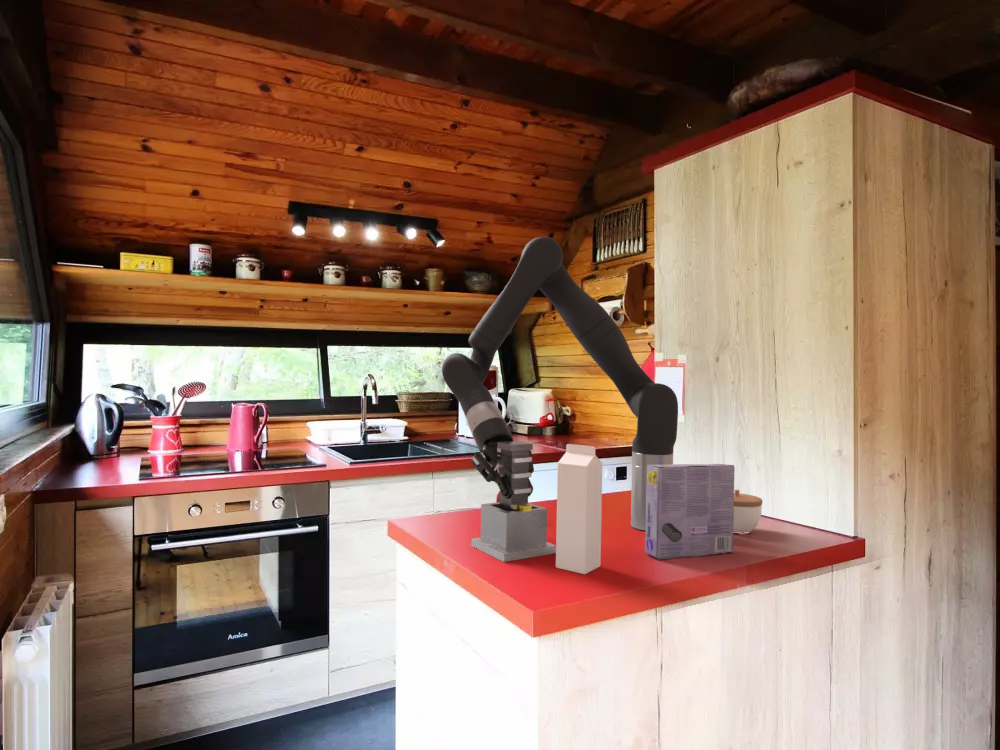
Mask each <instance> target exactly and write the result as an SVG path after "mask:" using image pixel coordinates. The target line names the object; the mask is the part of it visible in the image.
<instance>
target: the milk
mask: <svg viewBox="0 0 1000 750" xmlns="http://www.w3.org/2000/svg"><path fill="white" fill-rule="evenodd" d="M556 480H557V483H556V484H557V485H556V486H557V489H556V490H557V491H556V492H557V494H556V537H555V540H556V541H555V542H556V543H555V545H556V553H555V568H557V569H560V570H565V571H569V572H573V573H578V574H580V575H586V574H588V573H590V572H592V571H595V570H596V569H599V567H601V553H602V552H601V551H602V550H601V546H602V504H603V503H602V500H603V492H602V491H603V462H602V461H601V459H600V458H599V457H598V456H597V455H596V447H595V446H592V445H583V444H573V443H567V444H566V446H565V453H564V454H563V455H562V456H561V458H560V459H559V460H558V462H557V479H556Z"/></svg>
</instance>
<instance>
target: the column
mask: <svg viewBox="0 0 1000 750" xmlns="http://www.w3.org/2000/svg"><path fill="white" fill-rule="evenodd" d="M533 446H534V444H533V443H530V442H525V441H519V440H516V441H514V440H513V441H512V442H498V448H499V449H501V462H502V464H503V470H504V473H505V476H504V477H506V478H507V480H508V482H509V484H510V486H511V488H512V491H513V495H512V496H511V497H510V499H506V498H505V496H503V495H502V494H501V491H500V490H499V491H500V509H502V510H505V511H508V512H511V511H519V510H520V505H526V504H529V505H531V504H532V503H531V502H529V497H528V493H530V492H531V488H529V487H528V478H529V479H530V478H532V475H533V473H530V472H529V462H532V460H533V456H532V457H529V450H531V451H533V448H534V447H533Z"/></svg>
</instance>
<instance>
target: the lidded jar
mask: <svg viewBox="0 0 1000 750" xmlns="http://www.w3.org/2000/svg"><path fill="white" fill-rule="evenodd" d="M762 506H763V499H762V498H761V497H759V496H756V495H752V494H746V493H740V489H734V521H733V529H734V531H733V532H741V533H744V532H750V531H751V532H752V531H753V530H754V529H756V528H757V526H758V525H759V523H760V521H761V517H762V509H763V507H762Z"/></svg>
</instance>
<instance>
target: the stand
mask: <svg viewBox="0 0 1000 750" xmlns="http://www.w3.org/2000/svg"><path fill="white" fill-rule="evenodd" d="M547 529H548V508H546V507H543V506H540V505H537V504H533V503H531V505H529V504H526V505H520V510H519V511H511V512H508V511H505V510H502V509H500V502H490V503H481V504H480V537H479V536H478V537H474V538H471V544H470V546H471V547H472V548H474V547H475V548H474V549H476V548H477V550H478V551H481V552H483V553H484V554H486V555H488V556H491V557H493V558H494V559H496V560H498V561H501V563H506V562H507V563H508V562H512V561H518V560H524V559H525V560H526V559H529V558H536V557H541V556H546V555H548V556H549V555H552V554H553V555H554V554H556V544H553V543H551V542H548V541H547V537H548V536H547V535H548V534H547V532H548V530H547Z"/></svg>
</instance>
